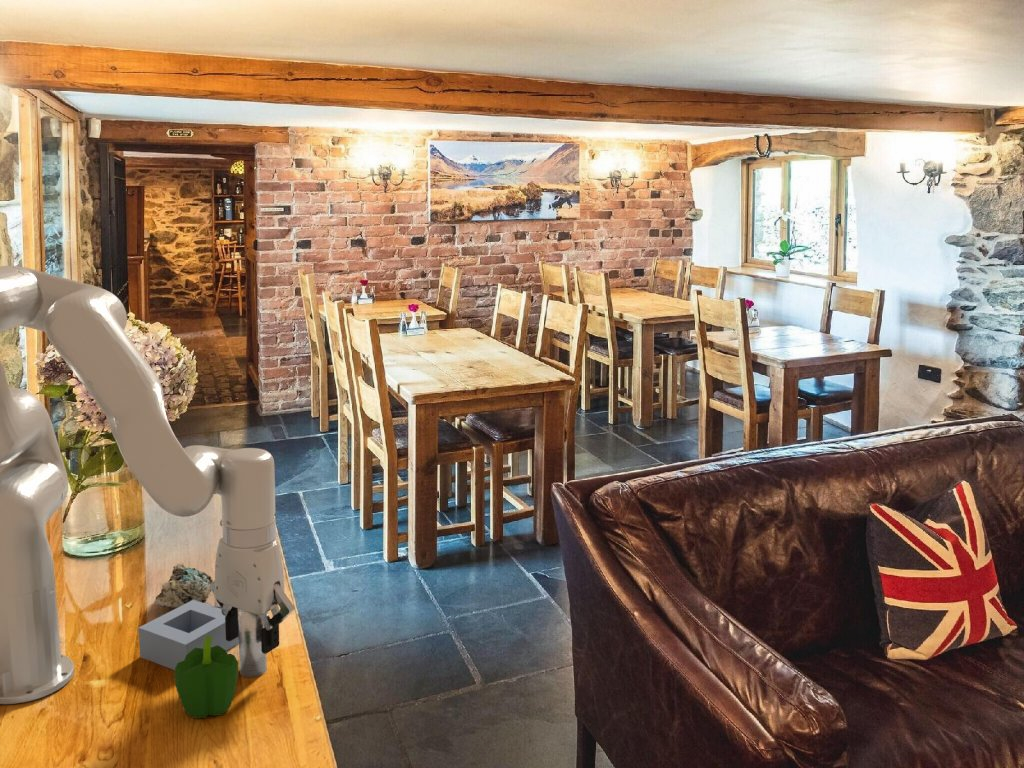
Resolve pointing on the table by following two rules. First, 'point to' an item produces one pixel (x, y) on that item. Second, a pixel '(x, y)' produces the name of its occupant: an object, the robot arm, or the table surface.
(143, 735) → the table surface
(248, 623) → the long pin
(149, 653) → the hole block
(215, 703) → the bell pepper
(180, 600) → the mineral specimen
